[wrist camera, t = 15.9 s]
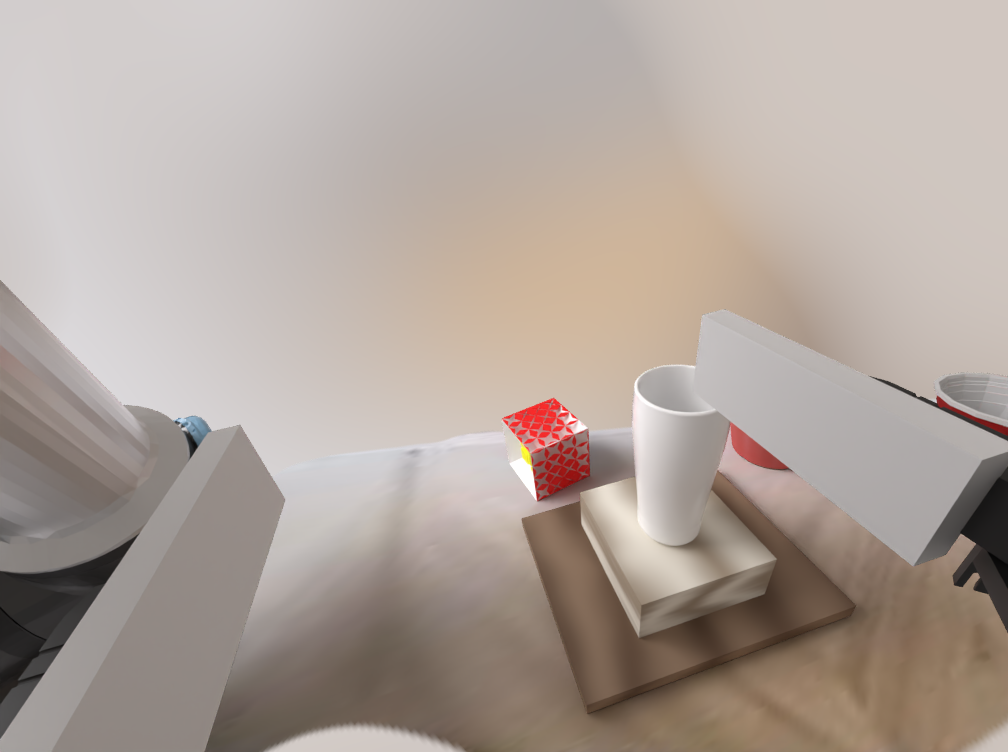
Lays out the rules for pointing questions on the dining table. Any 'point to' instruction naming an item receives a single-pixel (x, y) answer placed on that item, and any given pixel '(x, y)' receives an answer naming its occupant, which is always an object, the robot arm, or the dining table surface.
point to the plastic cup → (976, 397)
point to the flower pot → (753, 450)
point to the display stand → (670, 590)
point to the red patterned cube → (547, 447)
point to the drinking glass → (674, 453)
